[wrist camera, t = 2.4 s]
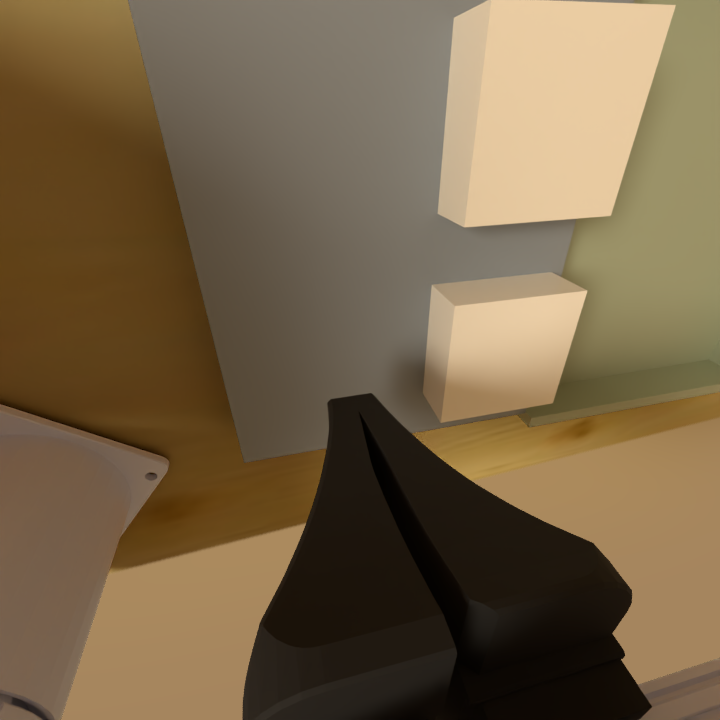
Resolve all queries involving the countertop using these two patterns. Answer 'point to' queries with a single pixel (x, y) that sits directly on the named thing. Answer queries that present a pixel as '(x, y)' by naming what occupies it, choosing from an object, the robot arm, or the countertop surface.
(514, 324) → the tile
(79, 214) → the countertop surface
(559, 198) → the tile
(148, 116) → the countertop surface
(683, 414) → the countertop surface
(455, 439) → the countertop surface
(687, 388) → the tray
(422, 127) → the slate plate
